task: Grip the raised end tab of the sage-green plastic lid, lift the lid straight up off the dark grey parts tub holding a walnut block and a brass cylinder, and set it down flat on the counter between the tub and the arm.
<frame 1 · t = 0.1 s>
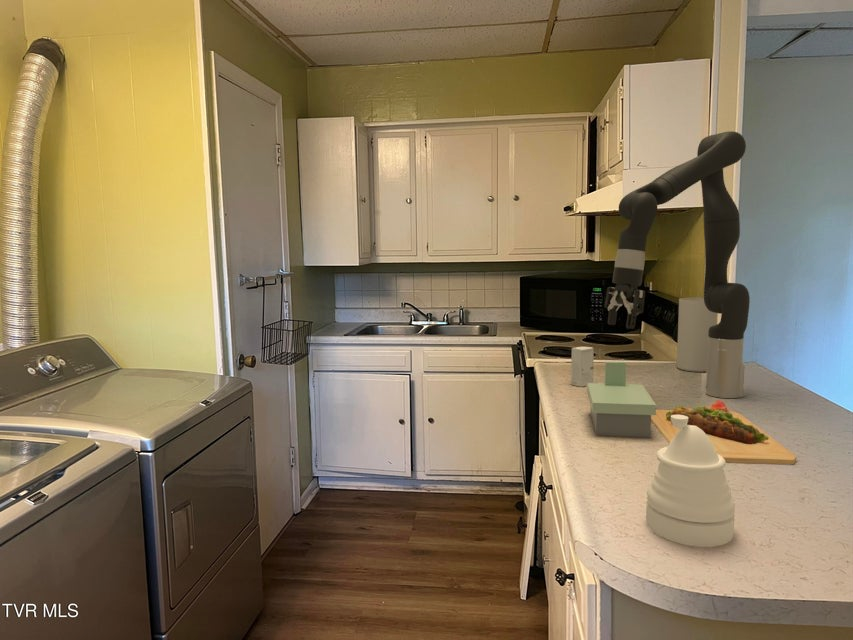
hand: (620, 326, 160), 23 cm above the worktop, tool pointing down, fingers open, 8 cm apart
lid: (618, 396, 144), point 8 cm above the worktop, touching tub
cutting board: (711, 439, 138), on the worktop
tub: (618, 427, 145), on the worktop
cylinder vase: (695, 369, 210), on the worktop
walnut block: (626, 420, 148), point 1 cm above the worktop, touching tub
honey pot: (688, 527, 94), on the worktop
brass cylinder: (609, 429, 141), point 1 cm above the worktop, touching tub
skincare box: (582, 385, 190), on the worktop
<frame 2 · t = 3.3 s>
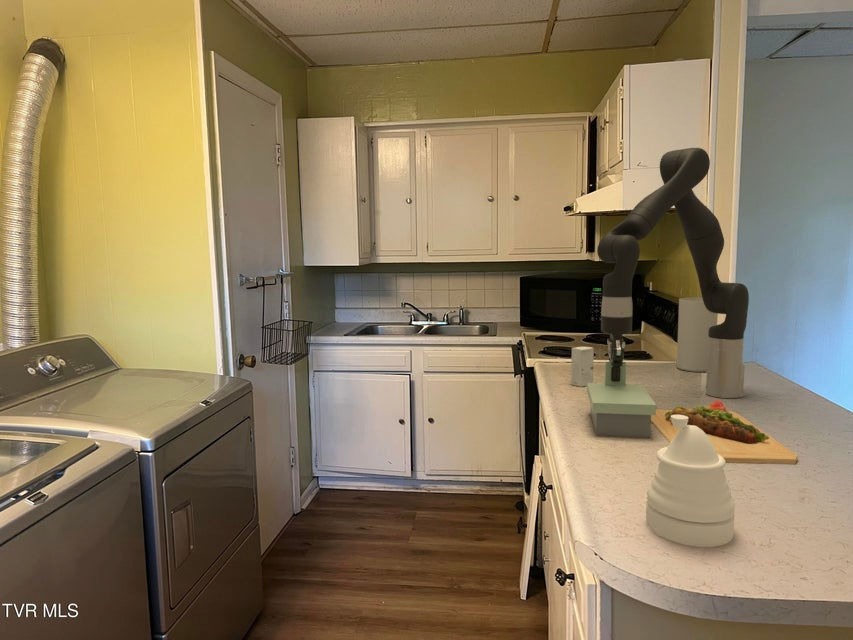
hand: (615, 380, 152), 10 cm above the worktop, tool pointing down, fingers closed on lid
lid: (618, 396, 144), point 8 cm above the worktop, touching gripper
everything else where it was.
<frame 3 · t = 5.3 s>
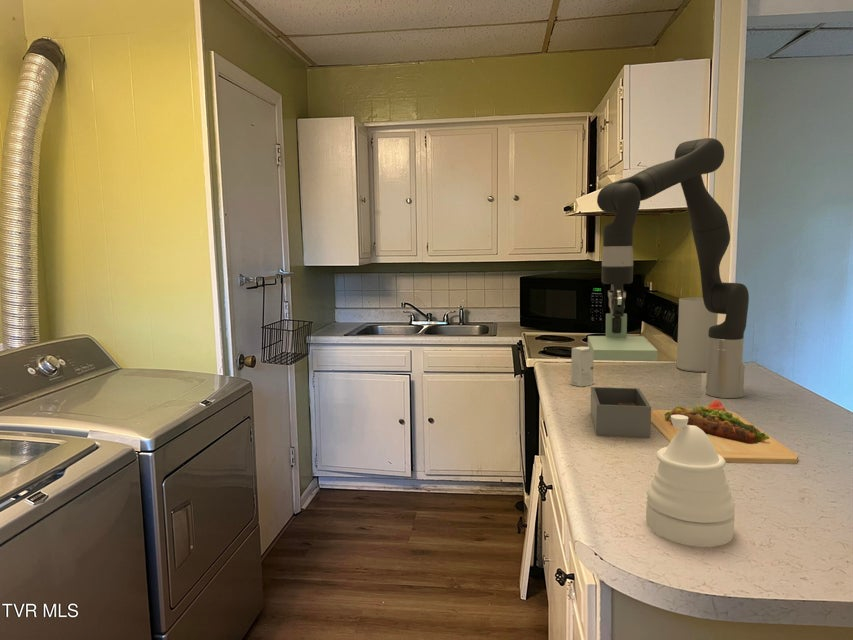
hand: (616, 332, 150), 23 cm above the worktop, tool pointing down, fingers closed on lid
lid: (620, 345, 142), point 21 cm above the worktop, touching gripper
everything else where it was.
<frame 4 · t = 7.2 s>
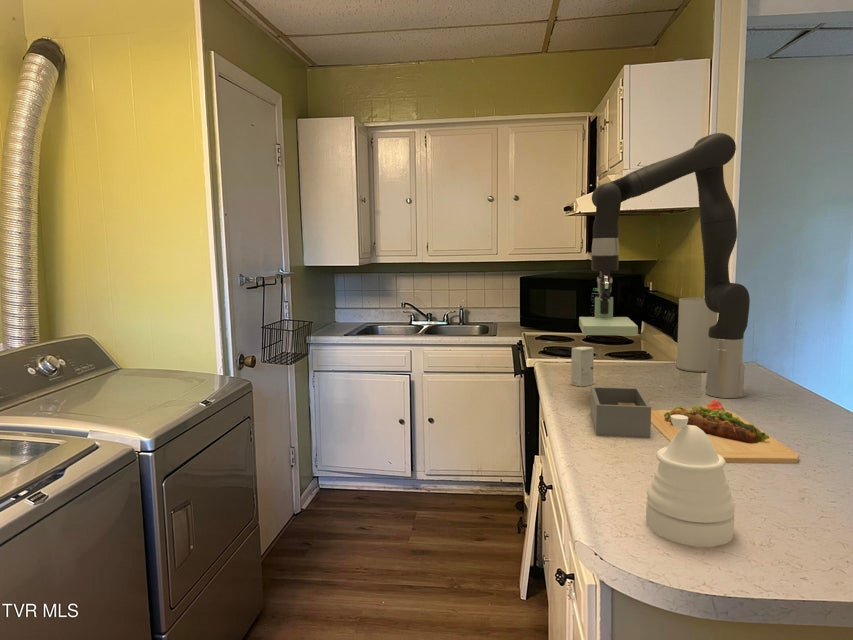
hand: (604, 313, 172), 25 cm above the worktop, tool pointing down, fingers closed on lid
lid: (606, 324, 165), point 23 cm above the worktop, touching gripper
everything else where it was.
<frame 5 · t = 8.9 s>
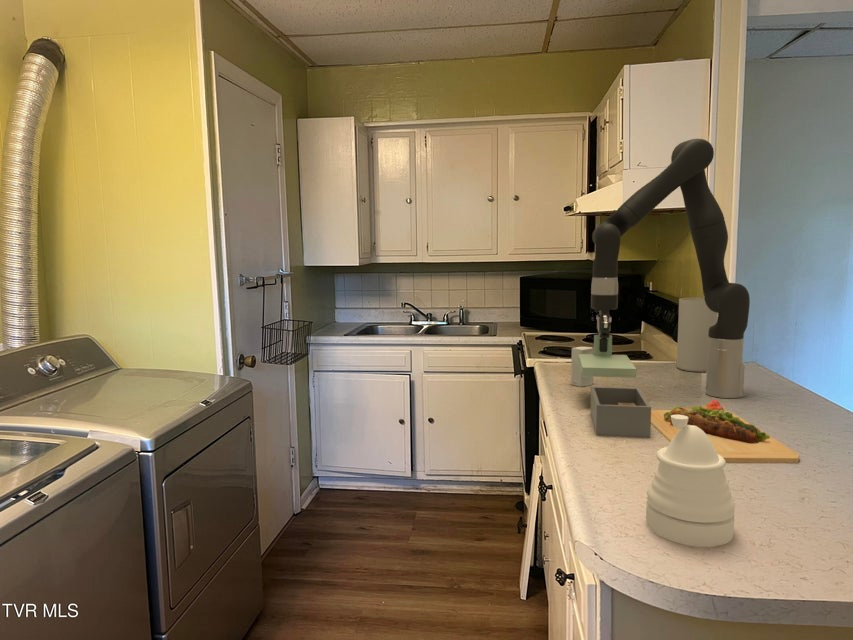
hand: (603, 351, 174), 14 cm above the worktop, tool pointing down, fingers closed on lid
lid: (605, 363, 166), point 11 cm above the worktop, touching gripper
everything else where it was.
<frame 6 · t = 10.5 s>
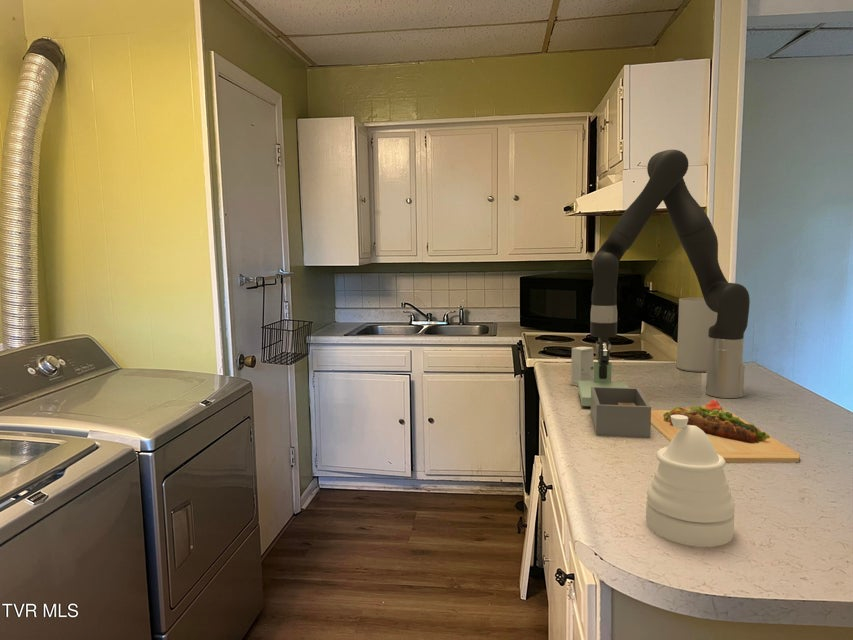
hand: (602, 377, 175), 5 cm above the worktop, tool pointing down, fingers closed on lid
lid: (605, 391, 167), point 3 cm above the worktop, touching gripper
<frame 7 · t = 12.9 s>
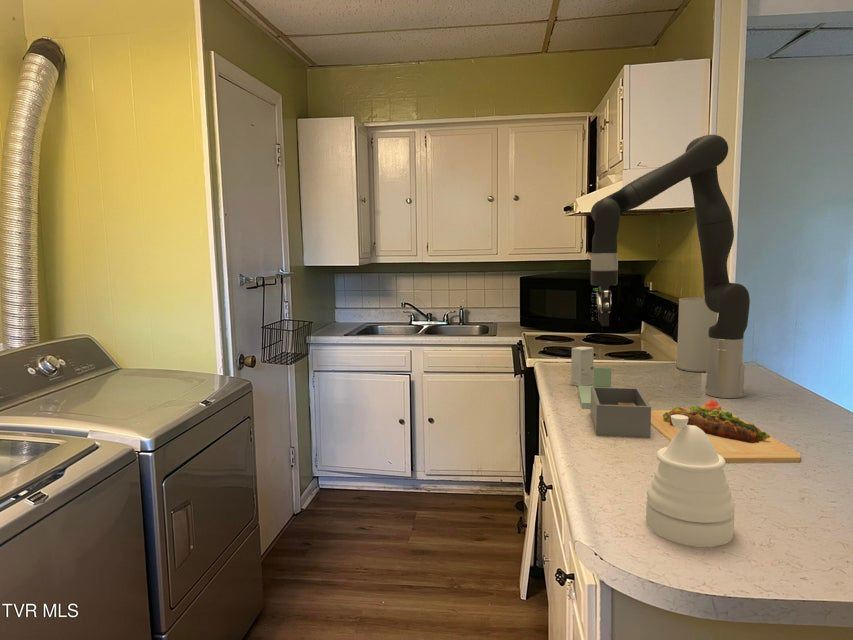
hand: (603, 324, 173), 22 cm above the worktop, tool pointing down, fingers open, 8 cm apart
lid: (604, 397, 168), point 2 cm above the worktop
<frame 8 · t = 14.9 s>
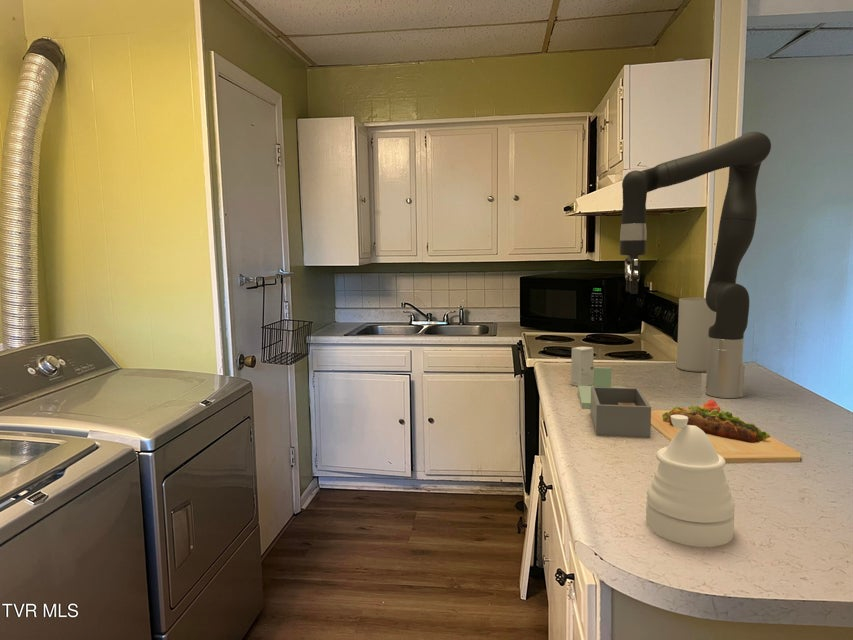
hand: (631, 292, 179), 30 cm above the worktop, tool pointing down, fingers open, 8 cm apart
at the end: lid touching worktop; lid inside the target area (0.5 cm from its centre), point 1.6 cm above the worktop; lid tilted 0° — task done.
